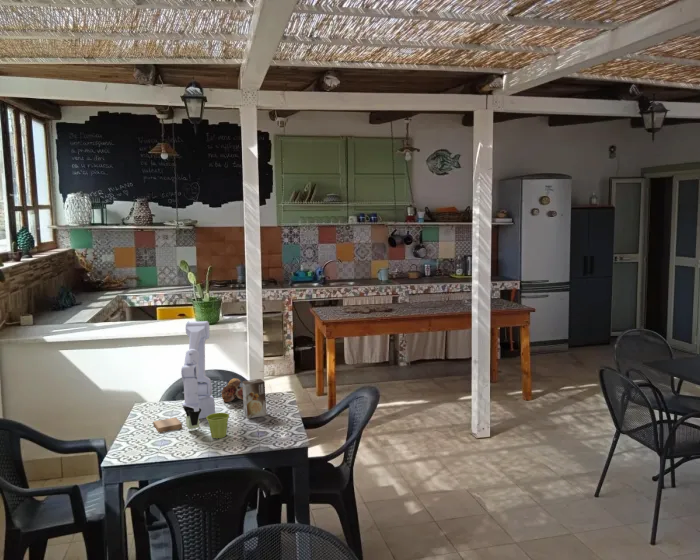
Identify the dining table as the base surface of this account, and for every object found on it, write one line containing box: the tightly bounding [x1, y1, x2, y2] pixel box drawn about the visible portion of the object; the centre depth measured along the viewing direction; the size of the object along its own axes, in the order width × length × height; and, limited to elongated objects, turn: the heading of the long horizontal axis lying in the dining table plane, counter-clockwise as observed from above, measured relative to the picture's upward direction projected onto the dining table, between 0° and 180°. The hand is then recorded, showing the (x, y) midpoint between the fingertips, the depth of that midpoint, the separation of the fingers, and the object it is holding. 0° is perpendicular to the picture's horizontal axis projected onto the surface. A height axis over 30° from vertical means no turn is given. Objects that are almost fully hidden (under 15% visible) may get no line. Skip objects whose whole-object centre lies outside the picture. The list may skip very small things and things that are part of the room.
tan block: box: [152, 417, 183, 433], centre depth 268 cm, size 10×10×2 cm
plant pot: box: [205, 412, 230, 439], centre depth 255 cm, size 9×9×9 cm
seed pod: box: [220, 378, 243, 403], centre depth 305 cm, size 13×16×15 cm
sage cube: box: [185, 415, 200, 430], centre depth 263 cm, size 4×4×4 cm
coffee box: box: [241, 378, 267, 419], centre depth 281 cm, size 9×6×16 cm
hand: (192, 423), depth 263 cm, fingers closed on sage cube, 4 cm apart
